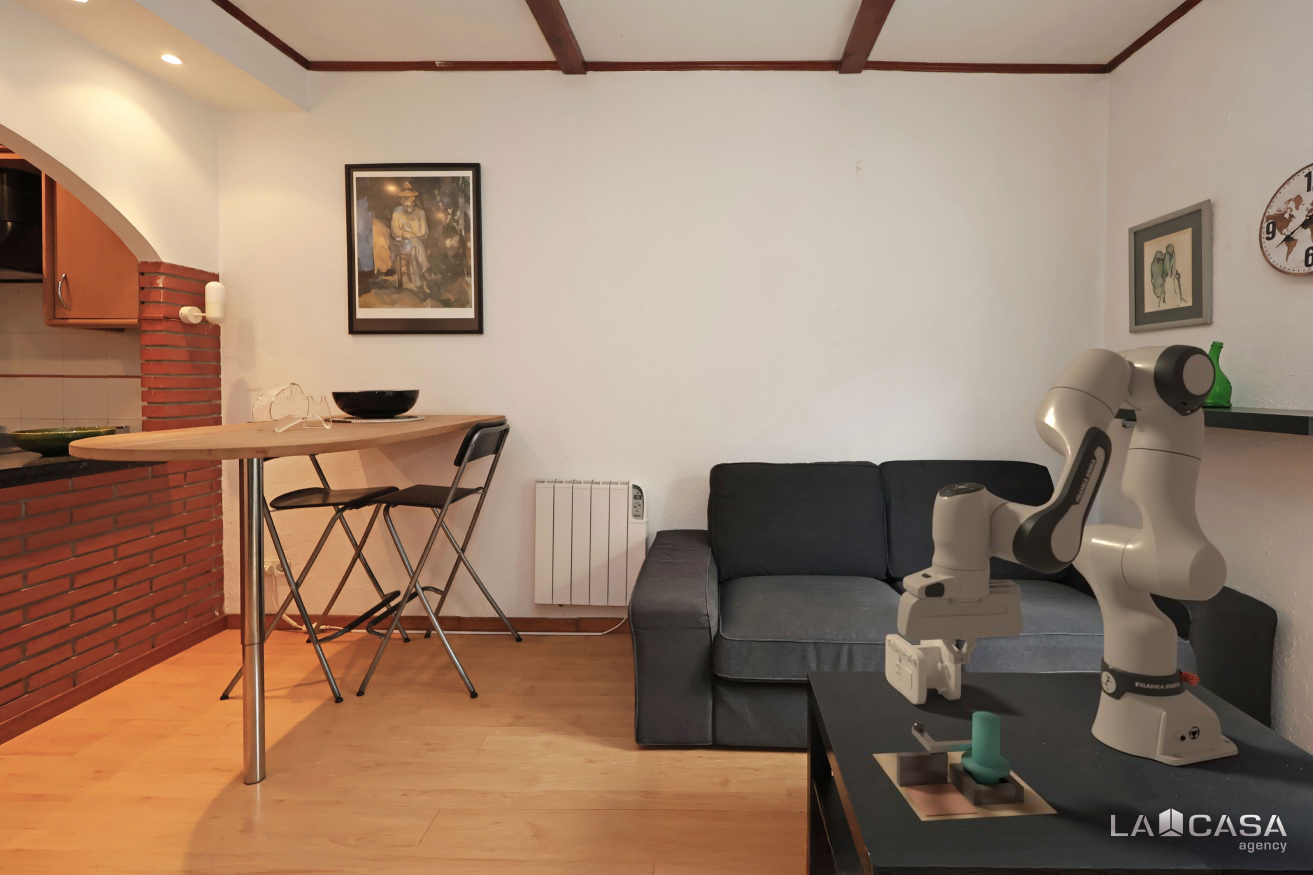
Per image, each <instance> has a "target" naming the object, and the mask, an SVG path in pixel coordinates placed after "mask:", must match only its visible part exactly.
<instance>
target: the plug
mask: <svg viewBox="0 0 1313 875" xmlns="http://www.w3.org/2000/svg"><path fill="white" fill-rule="evenodd" d="M971 723H972V724H971V725H972V730H971V731H972V732H971V734H972V736H971V737H972V738H971V740H972V751H966V752H964V753H963V754H962V755H961V764H962V766H963V767H964V768H965V769H967V770H968V771H970V772H972V779H973V780H974V781H975V782H976V783H977V784H978V785H981V784H999V778H1001V777H1005V776H1007V775H1009V774H1010V772H1011V770H1012V769H1011V768H1012V765H1011V762H1010V761H1009V760H1008V759H1007V758H1006V757H1004V756H1002V755H1001V750H1000V749H1001V746H1000V745H1001V718H1000V716H999V715H997V714H995V713H993V712H991V711H990V712H989V711H984V710H983V711H979V710H978V711H975V712H973V713H972V721H971Z"/></svg>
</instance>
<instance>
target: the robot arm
mask: <svg viewBox="0 0 1313 875" xmlns="http://www.w3.org/2000/svg"><path fill="white" fill-rule="evenodd" d="M1216 373H1217V372H1216V367H1215V364H1214V361H1213V360H1212V358H1211V356H1210V355H1209V354H1208V352H1206V350H1204V349H1202V348H1201V347H1198V346H1195V345H1194V346H1193V345H1189V344H1188V345H1186V344H1173V345H1172V344H1171V345H1167V346H1166V345H1153V346H1151V345H1150V346H1149V345H1148V346H1141V347H1140V346H1139V347H1137V348H1132V349H1127V350H1121V351H1117V352H1115V351H1113V350H1109V349H1105V348H1091V349H1086V350H1084V351H1083V352H1081V353H1079V354H1078V355H1077V356H1076V357H1075V358H1073V360H1072V361H1071V362H1069V363H1068V365H1067V366H1066V368H1064V370H1063V371H1062V372H1061V374H1060V375H1058V377H1057V379H1056V380H1055V381H1054V383H1053V384H1052V385H1051V387H1050V388H1049V390H1048V392H1047V393H1046V395H1045V396H1044V397H1043V399H1042V401H1041V402H1040V404H1039V406H1038V409H1037V411H1036V415H1035V418H1034V423H1035V428H1036V430H1037V433H1038V435H1039V437H1040V438H1041V440H1042V441H1043V442H1044V443H1045V444H1046V445H1047V446H1048V447H1049V448H1051V449H1052V450H1053V451H1054V452H1056V454H1059V455H1060V456H1062V457H1064V458H1065V463H1064V464H1065V465H1064V467H1063V469H1062V472H1061V474H1060V476H1059V479H1058V480H1057V481H1058V482H1057V483H1056V486H1055V489H1054V491H1053V493H1052V495H1051V498H1050V499H1049V501H1047V502H1046V503H1045V504H1041V505H1039V506H1033V505H1026V504H1024V503H1023V504H1022V503H1018V502H1012V501H1009V500H1006V499H1004V498H1001V497H999V496H997V495H995V494H993V493H992V492H991V491H989V490H987V488H986V487H985V485H983V484H980V483H976V482H962V483H961V482H958V483H952V484H948V485H945V486H944V487H943V488H941V489H940V490H939V491H938V492H937V494H936V497H935V500H934V505H933V513H932V540H933V542H934V543H933V544H934V551H933V552H934V553H933V555H932V558H931V561H932V562H931V566H930V567H928V568H925V569H922V570H921V571H918V572H915V573H912V574H909V575H907V576H904V578H903V580H902V587H903V588H904V589H905V590H906V591H905V592H904V593H902V595H901V596H900V599H899V601H898V602H899V603H898V609H897V611H898V612H897V621H896V622H897V623H896V624H897V625H896V626H897V630H898V632H899V634H900V635H901V636H902V637H903V638H905V640H906V641H908V642H909V641H910V642H911V641H912V642H913V641H921V640H941V639H942V642H943V644H944V645H945V647H946V649H947V650H948V651H949V662H950V663H951V664H961V665H968V664H969V665H970V664H971V655H972V654H973V652H974V651H975V649H976V647H977V646H978V641H979V640H978V639H983V638H984V639H985V638H989V639H990V638H1008V637H1009V638H1013V637H1015V638H1016V637H1019V636H1020V634H1021V633H1023V628H1024V623H1023V613H1022V608H1021V607H1022V606H1021V600H1022V589H1021V587H1020V586H1019V585H1018V583H1016V582H1014V581H1013V580H1011V579H1003V580H995V579H993V580H991V578H990V574H991V573H990V572H991V570H990V568H991V567H990V566H991V563H990V558H991V557H996V558H999V559H1000V560H1001V559H1002V560H1005V561H1008V562H1011V563H1016V564H1019V565H1022V566H1024V567H1026V568H1028V569H1031V570H1034V571H1036V572H1039V573H1041V574H1047V575H1050V574H1056V573H1058V572H1061V571H1063V570H1064V569H1066V568H1068V566H1070V565H1071V564H1072V565H1073V567H1074V568H1075V569H1076V570H1077V571H1078V572H1079V573H1080V574H1081V575H1082V576H1083V577H1084V578H1085V580H1086V581H1087V583H1088V584H1089V586H1090V587H1091V590H1092V591H1093V593H1094V596H1095V597H1096V600H1097V602H1098V605H1099V608H1100V612H1101V616H1102V621H1103V623H1102V624H1103V656H1102V658H1101V659H1100V674H1099V675H1100V677H1099V678H1100V685H1101V692H1100V693H1101V694H1100V699H1099V704H1098V708H1097V709H1098V710H1097V712H1096V717H1095V720H1094V722H1093V724H1092V727H1091V733H1092V734H1093V736H1094V737H1095V738H1096V739H1097V740H1099V741H1100V742H1102V743H1103V744H1105V745H1106V746H1109V747H1111V748H1112V749H1115V750H1117V751H1120V752H1122V753H1127V754H1130V755H1134V756H1138V757H1143V758H1148V759H1152V760H1156V761H1158V762H1162V763H1163V764H1166V765H1170V766H1178V767H1179V766H1183V765H1189V764H1194V763H1200V762H1204V761H1210V760H1215V759H1220V758H1224V757H1229V756H1236V755H1238V754H1239V750H1238V747H1237V745H1236V744H1235V743H1234V742H1233V741H1232V739H1229V738H1228V737H1226V736H1225V735H1224V734H1222V728H1221V723H1220V720H1219V717H1218V715H1217V713H1216V712H1215V711H1214V710H1213V709H1212V708H1211V707H1210V706H1208V705H1207V704H1205V702H1203V701H1202V700H1200V699H1199V698H1198V697H1196V696H1195V695H1194V694H1192V693H1191V692H1190V691H1189V690H1187V689H1186V686H1185V684H1184V683H1187V684H1188V685H1190V686H1193V687H1195V686H1197V685H1198V684H1199V683H1200V677H1199V676H1198V675H1197V674H1195V673H1192V671H1182V670H1181V669H1180V668H1178V667H1177V663H1178V662H1177V658H1178V655H1177V654H1178V630H1177V628H1176V625H1175V624H1174V622H1173V621H1172V619H1171V618H1170V617H1168V615H1166V614H1165V613H1164V612H1162V611H1161V609H1159V608H1158V606H1157V605H1156V603H1155V602H1154V600H1153V599H1152V597H1151V594H1153V595H1157V596H1162V597H1164V598H1165V597H1166V598H1170V599H1173V600H1182V601H1183V600H1184V601H1185V600H1186V601H1208V600H1209V599H1212V598H1213V597H1215V596H1216V595H1217V594H1218V593H1220V592H1221V590H1222V589H1223V587H1224V586H1225V584H1226V580H1227V576H1228V566H1227V563H1226V560H1225V558H1224V556H1223V554H1222V553H1221V551H1220V550H1219V549H1218V548H1217V547H1216V546H1215V545H1214V544H1213V543H1212V542H1211V541H1210V540H1209V538H1207V536H1206V535H1205V533H1204V531H1203V529H1202V527H1201V525H1200V523H1199V520H1198V516H1197V512H1196V511H1197V510H1196V493H1197V486H1198V477H1199V473H1200V472H1199V471H1200V467H1201V461H1202V457H1203V451H1204V443H1205V414H1204V410H1203V408H1202V407H1203V405H1204V404H1205V402H1206V400H1207V399H1208V398H1209V396H1210V395H1211V394H1212V390H1213V388H1214V385H1215V383H1216V377H1217V375H1216ZM1120 409H1122V410H1134V414H1135V417H1136V422H1135V424H1134V428H1133V431H1132V435H1131V437H1130V441H1129V445H1128V449H1127V454H1126V459H1125V463H1124V469H1123V472H1122V473H1123V474H1122V478H1121V482H1120V489H1121V490H1120V491H1121V492H1122V494H1123V497H1124V498H1126V500H1127V501H1128V502H1129V503H1130V504H1132V505H1133V506H1134V507H1136V508H1138V511H1139V512H1140V513H1141V518H1142V528H1138V527H1137V528H1136V527H1132V526H1125V525H1120V524H1114V523H1100V524H1099V523H1098V524H1095V523H1094V524H1087V521H1088V519H1089V516H1090V513H1091V510H1092V508H1093V505H1094V503H1095V502H1096V499H1097V495H1098V493H1099V490H1100V488H1101V485H1102V483H1103V481H1104V478H1105V475H1106V473H1107V469H1108V467H1109V464H1110V461H1111V458H1112V451H1113V444H1112V443H1113V442H1112V440H1111V437H1110V436H1109V435H1108V431H1109V429H1110V427H1111V424H1112V422H1113V420H1115V417H1116V416H1117V414H1118V412H1119V410H1120ZM960 639H961V640H963V641H965V642H964V644H963V647H962V648H961V650H959V651H955V649H954V647H953V645H954V646H956V644H957V640H960Z"/></svg>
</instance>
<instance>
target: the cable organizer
mask: <svg viewBox="0 0 1313 875" xmlns="http://www.w3.org/2000/svg"><path fill="white" fill-rule="evenodd" d="M952 645H953V644H952ZM953 647H954V649H955V651H960V650H959V649H958V648H957V647H956V645H953ZM884 669H885V672H884V673H885V677H886V680H887V681H888V683H889V684H890V685H891V687H893V688H894V689H895V690H896V691H897V692H899V693H900V694H901V695H903V696H904V697H905V698H906V700H908V701H909V702H910V703H911V704H913V705H924V704H925V703H926V700H927V697H928V694H927V693H928V689H935V690H937V692H938V693H937V695H938V696H939V695H941V696H943V697H944V698H945V699H947V700H948V701H956V700H959V699H960V698H961V692H962V691H961V690H962V688H961V686H962V682H961V681H962V664H951V663H950V662H949V651H948V650H947V649H946V647H945V645H944V644H943V642H942V639H941V640H920V644H911V643H910V642H909V641H908V640H907V639H904V637H903V638H902V637H901V636H900V635H899V634H896V633H891V634H887V635H886V636H885V668H884Z"/></svg>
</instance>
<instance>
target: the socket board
mask: <svg viewBox="0 0 1313 875" xmlns="http://www.w3.org/2000/svg"><path fill="white" fill-rule="evenodd" d="M964 752H966V751H960V752H941V753H930V752H929V751H928V750H924V751H906V752H903V751H902V752H887V753H872V756H873V758H875V760H876V761H877V763H878V764H879V765H880V767H881V768H882V769H883V771H884V772H885V773H886V775H887V776H888V777H889V779H890V780H891V782H892V783H893V784H894V785H895V787H896V788H897V789H898V791H899V792H900V794H902V796H903V798H904V799H905V800H906V801H907V803H908V804H909V806H910V807H911V808H912V811H914V813H915V814H916V816H918V818H919V819H920V820H921V821H922V822H930V821H932V822H933V821H946V820H947V821H948V820H962V819H963V820H964V819H965V820H967V819H981V818H997V817H998V818H999V817H1012V816H1013V817H1014V816H1016V817H1017V816H1032V815H1051V814H1058V811H1056V810H1055V809H1054V807H1052V806H1050V804H1049V803H1048V802H1046V800H1044V799H1043V798H1042V797H1041V796H1040V795H1039V794H1038V793H1037V792H1036V791H1035V790H1034V789H1032V787H1030V786H1029V785H1028V784H1027V783H1026V782H1025V781H1023V779H1021V778H1020V777H1019V776H1018V775H1017V774H1016V773H1015V772H1014V771H1013V770H1012V769H1011V772H1010V774H1009V775H1007V776H1005V777H1001V778H999V784H981V785H978V784H977V783H976V782H975V781H974V780H973V779H972V772H970V771H968V770H967V769H965V768H964V767H963V766H962V764H961V755H962V754H963V753H964Z"/></svg>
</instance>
